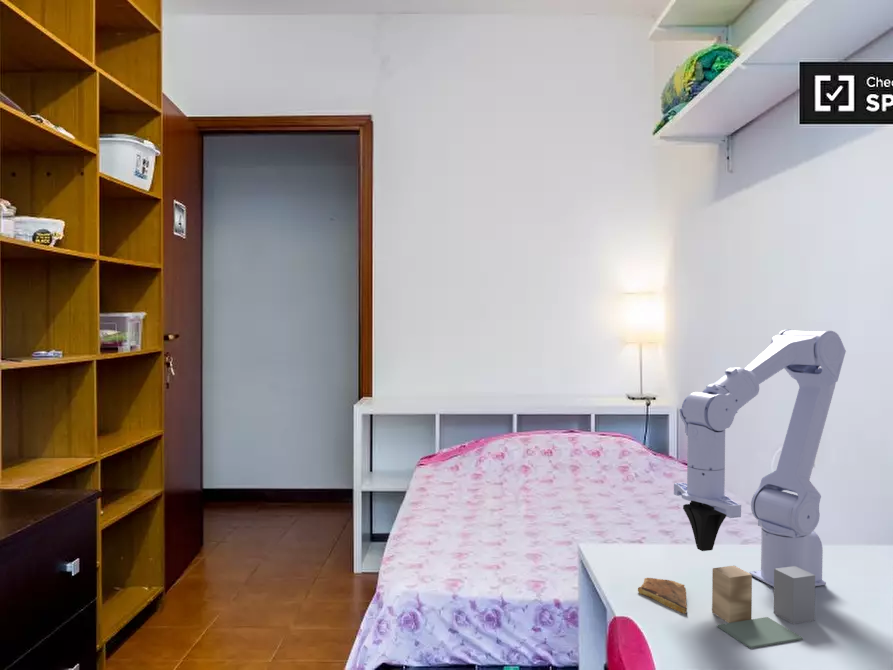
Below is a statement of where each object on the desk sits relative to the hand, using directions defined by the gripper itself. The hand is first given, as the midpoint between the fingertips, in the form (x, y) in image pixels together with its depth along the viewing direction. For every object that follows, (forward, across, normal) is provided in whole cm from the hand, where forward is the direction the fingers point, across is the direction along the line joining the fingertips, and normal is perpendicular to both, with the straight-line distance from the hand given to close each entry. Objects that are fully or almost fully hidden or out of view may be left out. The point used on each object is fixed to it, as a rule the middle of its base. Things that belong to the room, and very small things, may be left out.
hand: (704, 549), depth 114 cm
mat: (+8, +12, 0) cm, 15 cm away
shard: (+9, -2, -4) cm, 10 cm away
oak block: (+8, +6, 0) cm, 11 cm away
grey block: (+8, +10, +9) cm, 16 cm away
